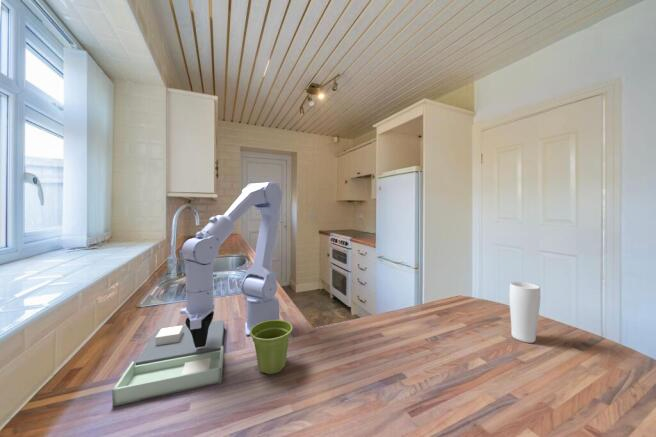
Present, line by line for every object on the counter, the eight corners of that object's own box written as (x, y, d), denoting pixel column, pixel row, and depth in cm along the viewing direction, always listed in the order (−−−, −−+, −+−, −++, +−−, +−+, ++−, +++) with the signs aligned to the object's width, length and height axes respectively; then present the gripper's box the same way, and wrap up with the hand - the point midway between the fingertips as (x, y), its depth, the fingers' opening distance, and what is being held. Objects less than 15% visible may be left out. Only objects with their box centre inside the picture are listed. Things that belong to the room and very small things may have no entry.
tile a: (208, 371, 50) (208, 381, 50) (210, 357, 55) (210, 366, 55) (180, 377, 49) (180, 387, 49) (185, 362, 53) (185, 371, 53)
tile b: (183, 332, 66) (183, 325, 66) (179, 341, 62) (179, 333, 62) (161, 335, 65) (161, 328, 65) (155, 345, 60) (155, 337, 60)
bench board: (224, 328, 74) (224, 320, 74) (221, 357, 59) (221, 347, 59) (157, 338, 68) (157, 329, 68) (135, 373, 53) (135, 362, 53)
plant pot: (254, 385, 50) (254, 343, 49) (247, 360, 58) (246, 324, 58) (298, 371, 54) (298, 332, 54) (285, 350, 62) (285, 316, 62)
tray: (223, 357, 59) (223, 345, 59) (221, 382, 51) (221, 368, 51) (132, 375, 53) (132, 361, 53) (112, 406, 44) (112, 390, 44)
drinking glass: (534, 335, 70) (535, 283, 69) (543, 347, 64) (544, 290, 63) (505, 330, 73) (506, 280, 72) (511, 341, 67) (512, 286, 66)
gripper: (186, 282, 63) (187, 334, 64) (172, 301, 50) (173, 367, 50) (216, 279, 66) (216, 329, 66) (211, 297, 52) (211, 360, 53)
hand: (200, 345), depth 58 cm, fingers closed
